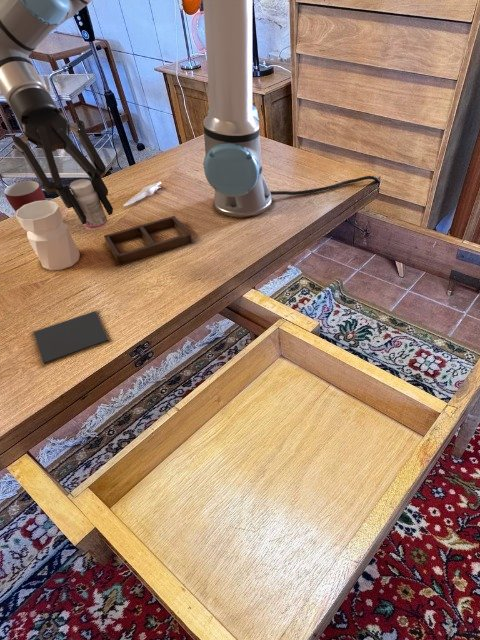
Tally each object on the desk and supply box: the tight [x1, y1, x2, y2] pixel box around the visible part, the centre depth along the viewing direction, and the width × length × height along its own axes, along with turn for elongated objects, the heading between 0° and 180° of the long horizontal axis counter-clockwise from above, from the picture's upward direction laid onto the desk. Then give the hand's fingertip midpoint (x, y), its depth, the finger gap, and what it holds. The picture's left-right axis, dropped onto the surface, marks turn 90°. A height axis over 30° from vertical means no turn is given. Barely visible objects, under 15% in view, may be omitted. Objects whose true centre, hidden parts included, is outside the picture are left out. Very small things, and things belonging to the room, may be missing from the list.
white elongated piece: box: [122, 181, 162, 207], centre depth 122 cm, size 15×3×2 cm, turn 149°
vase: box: [15, 199, 81, 271], centre depth 99 cm, size 9×9×12 cm
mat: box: [33, 310, 110, 365], centre depth 86 cm, size 12×10×1 cm
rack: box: [103, 215, 193, 266], centre depth 107 cm, size 18×11×2 cm, turn 121°
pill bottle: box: [69, 178, 108, 231], centre depth 88 cm, size 5×5×8 cm
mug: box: [3, 180, 47, 213], centre depth 109 cm, size 11×8×10 cm
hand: (97, 216), depth 87 cm, fingers closed on pill bottle, 5 cm apart
